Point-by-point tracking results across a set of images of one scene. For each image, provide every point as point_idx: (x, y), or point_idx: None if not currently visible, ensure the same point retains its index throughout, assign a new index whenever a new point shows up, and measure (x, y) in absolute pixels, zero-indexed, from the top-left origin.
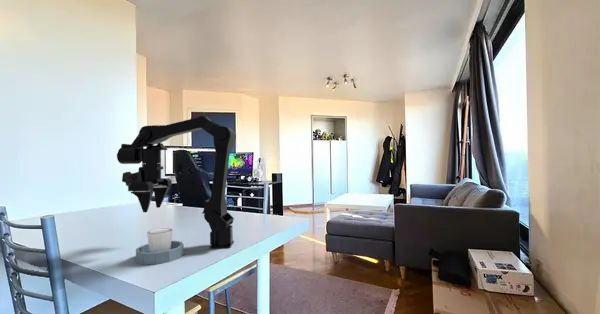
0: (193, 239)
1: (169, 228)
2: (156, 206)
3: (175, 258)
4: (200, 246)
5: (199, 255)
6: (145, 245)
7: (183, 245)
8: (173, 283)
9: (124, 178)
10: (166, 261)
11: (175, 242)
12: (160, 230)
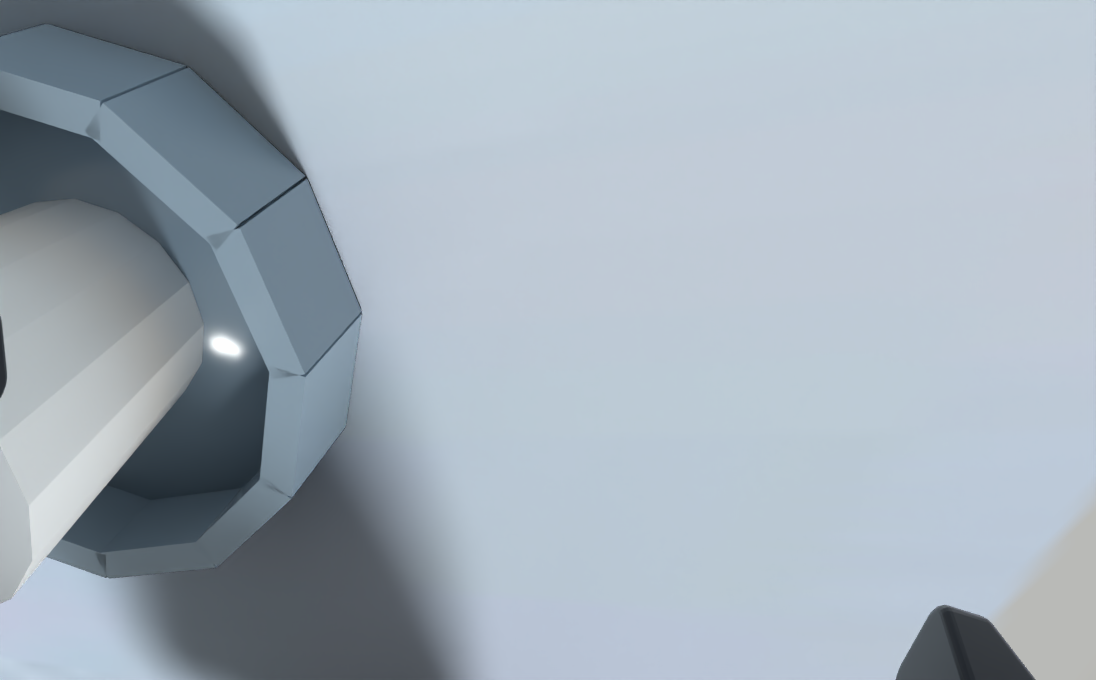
0: (795, 630)
1: (1, 587)
2: (938, 630)
3: None
4: (425, 659)
5: (129, 620)
6: (107, 151)
7: (111, 570)
8: None
9: None
10: None
11: (235, 500)
12: None
